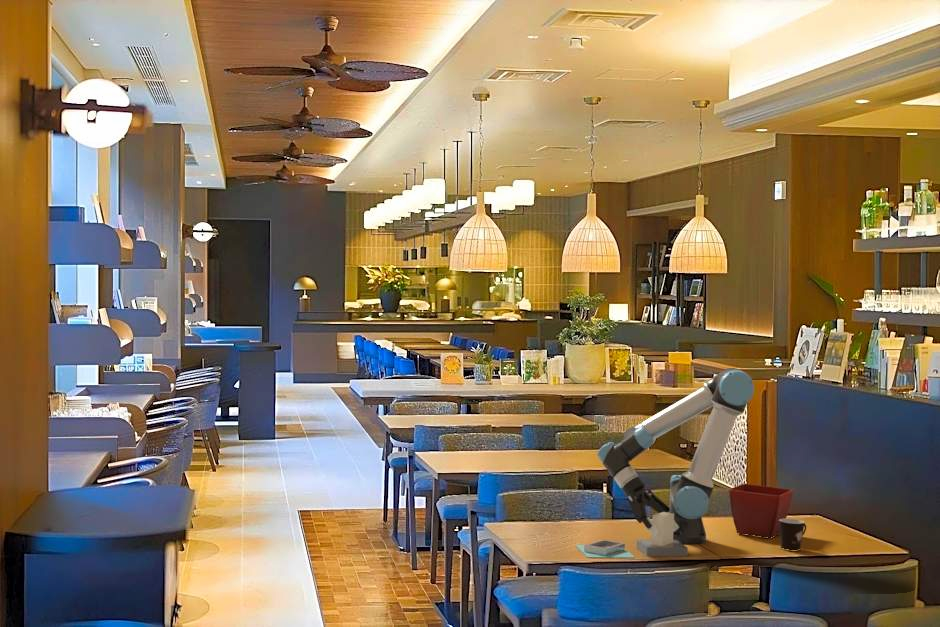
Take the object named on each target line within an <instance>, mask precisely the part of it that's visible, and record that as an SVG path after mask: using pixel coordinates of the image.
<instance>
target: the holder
mask: <svg viewBox="0 0 940 627" xmlns="http://www.w3.org/2000/svg"><path fill="white" fill-rule="evenodd" d="M583 545H584V552H588V553H593V554H598V555H603V556H608V555H611V554H614V553H617V552H621V551H624V550H626V549H625V548H626V543H624V542H619V541H613V540H608V539H601V540H597V541H593V542H591V543H590V542H589V543H586V544H583Z"/></svg>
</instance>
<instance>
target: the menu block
mask: <svg viewBox="0 0 940 627" xmlns="http://www.w3.org/2000/svg"><path fill="white" fill-rule="evenodd" d="M651 517H652V519H651V520H652V522H653V523H654V524H655V526H656V527H657V529H658V530H659V531H660V534H659V535H658V536H656V537H655V538H654V537H653V536H652V535H651V539H650V540H651V544H652V545H658V546H664V545H667V544H670V543H673V529H674V513H668V512H661V513H658V512H657V513H654V514H652V515H651Z"/></svg>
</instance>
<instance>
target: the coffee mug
mask: <svg viewBox="0 0 940 627" xmlns="http://www.w3.org/2000/svg"><path fill="white" fill-rule="evenodd" d="M779 525H780V534H779V535H780V536H779V537H780V549H781V548H784V549H789V550H798V549H800V550H801V546H802V540H803V536H804V535H805V533H806V531H807V525H806V523H805V521H804V520H801V519H795V518H786V519H780V520H779Z"/></svg>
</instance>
